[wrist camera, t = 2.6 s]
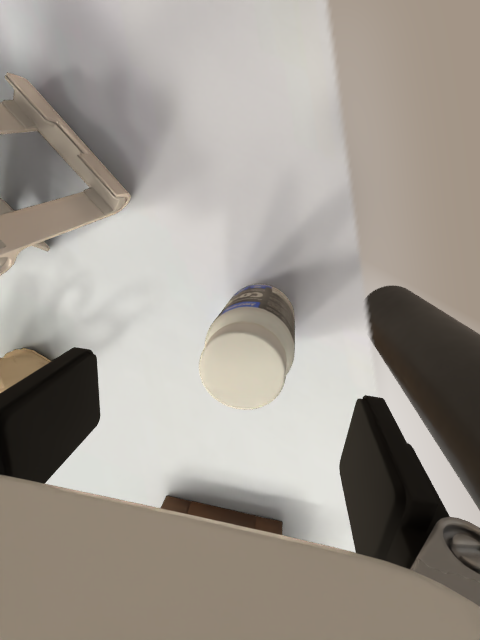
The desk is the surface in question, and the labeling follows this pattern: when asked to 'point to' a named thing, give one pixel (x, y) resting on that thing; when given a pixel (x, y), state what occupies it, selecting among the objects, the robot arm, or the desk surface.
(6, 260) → the tablet stand
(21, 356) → the decorative ornament
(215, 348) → the pill bottle
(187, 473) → the desk surface
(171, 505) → the holder
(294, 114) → the desk surface
